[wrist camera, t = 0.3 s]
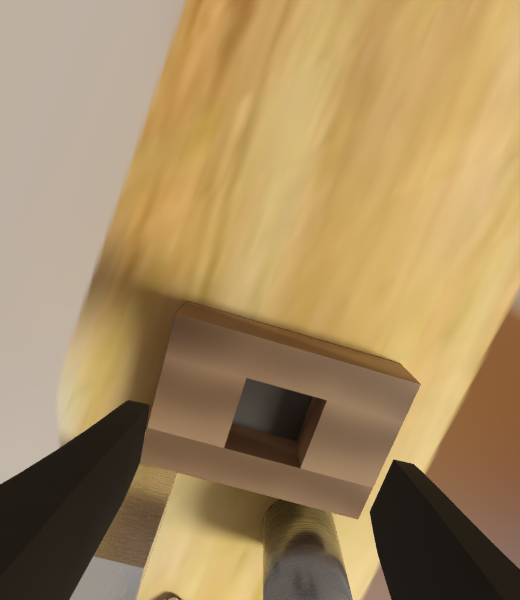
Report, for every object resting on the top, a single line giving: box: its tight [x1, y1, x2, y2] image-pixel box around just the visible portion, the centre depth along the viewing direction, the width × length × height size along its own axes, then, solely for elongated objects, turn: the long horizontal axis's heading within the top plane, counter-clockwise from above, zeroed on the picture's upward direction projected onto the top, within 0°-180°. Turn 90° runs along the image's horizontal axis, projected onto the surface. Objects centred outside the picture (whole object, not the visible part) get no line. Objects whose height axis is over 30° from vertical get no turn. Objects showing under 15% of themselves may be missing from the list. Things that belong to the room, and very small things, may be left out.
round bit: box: [263, 499, 353, 600], centre depth 19 cm, size 5×5×6 cm
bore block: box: [140, 301, 421, 519], centre depth 18 cm, size 9×13×2 cm
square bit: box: [70, 463, 177, 600], centre depth 18 cm, size 3×3×6 cm
